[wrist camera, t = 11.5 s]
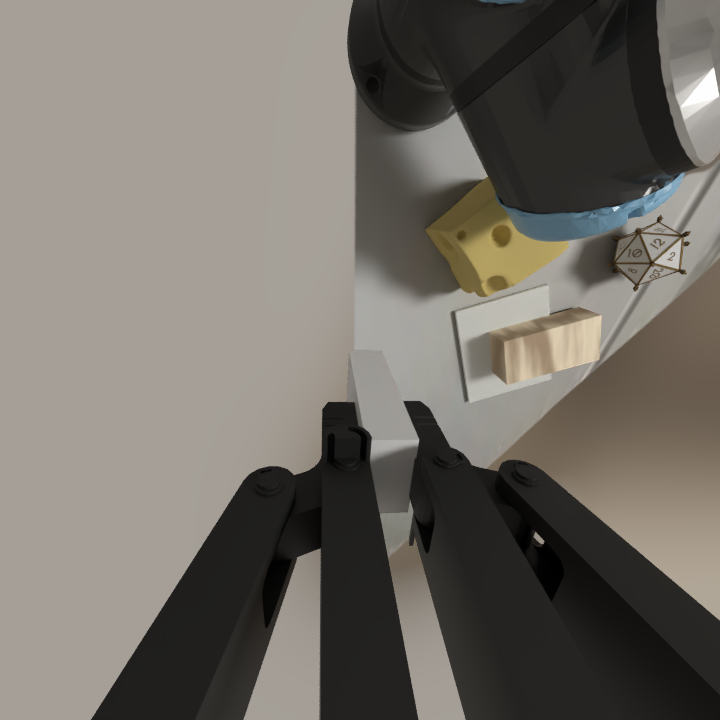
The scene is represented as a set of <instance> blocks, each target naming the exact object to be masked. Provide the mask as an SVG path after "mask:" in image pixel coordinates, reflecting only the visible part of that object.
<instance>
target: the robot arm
mask: <svg viewBox="0 0 720 720" xmlns="http://www.w3.org/2000/svg"><path fill="white" fill-rule="evenodd" d="M347 40H348V41H347V45H348V58H349V64H350V68H351V73H352V76H353V79H354V82H355V85H356V87H357V89H358V91H359V93H360V95H361V97H362V99H363V100H364V102H365V103H366V104H367V106H368V107H369V108H370V109H371V111H372V112H373V113H374V114H375V115H377V116H378V117H379V118H380V119H382V120H383V121H384V122H386V123H388V124H390V125H392V126H394V127H397V128H400V129H404V130H424V129H428V128H431V127H434V126H436V125H439V124H440V123H442V122H444V121H445V120H447V119H448V118H449V117H451V116H452V115H453V114H455V113H456V112H458V113H457V114H458V116H459V118H460V120H461V123H462V125H463V127H464V129H465V131H466V133H467V135H468V137H469V139H470V141H471V143H472V145H473V147H474V149H475V151H476V153H477V155H478V157H479V159H480V161H481V163H482V165H483V167H484V169H485V171H486V173H487V175H488V177H489V179H490V181H491V183H492V185H493V187H494V190H495V192H496V193H495V197H496V199H497V202H498V203H499V205H500V206H501V207H502V208H503V209H504V210H505V211H506V213H507V214H508V216H509V218H510V220H511V222H512V223H513V225H514V227H515V228H516V230H517V231H518V232H520V233H521V234H524V235H525V236H526V237H528V238H530V239H533V240H537V241H545V242H560V241H569V240H575V239H581V238H585V237H589V236H593V235H597V234H600V233H604V232H607V231H609V230H612V229H615V228H617V227H620V226H622V225H625V224H626V223H627V220H628V219H629V218H633V217H641V216H644V215H646V214H647V213H649V212H651V211H653V210H654V209H656V208H657V207H659V206H660V205H661V204H663V203H664V202H665V201H666V200H667V199H668V198H670V197H671V196H672V195H673V194H674V193H675V192H676V190H677V189H678V187H679V186H680V184H681V181H682V178H683V176H684V174H685V172H687V171H689V170H692V169H695V168H698V167H701V166H703V165H706V164H708V163H710V162H712V161H713V160H714V159H715V157H716V156H717V155H718V153H720V0H353V4H352V8H351V14H350V20H349V27H348V39H347ZM410 501H411V504H412V507H413V511H414V512H413V518H412V524H411V530H410V536H409V546H412V545H413V543H414V537H415V539H416V542H417V546H418V549H419V553H420V556H421V560H422V564H423V567H424V571H425V575H426V578H427V581H428V585H429V588H430V593H431V596H432V600H433V603H434V607H435V610H436V614H437V618H438V621H439V625H440V628H441V632H442V635H443V639H444V643H445V646H446V650H447V654H448V657H449V661H450V664H451V668H452V671H453V675H454V679H455V682H456V686H457V689H458V693H459V697H460V700H461V704H462V708H463V711H464V715H465V718H466V720H720V620H718V619H717V618H716V617H715V616H714V615H712V614H711V613H710V612H709V611H707V610H706V609H705V608H704V607H703V606H702V605H701V604H699V603H698V602H697V601H696V600H695V599H694V598H692V597H691V596H690V595H689V594H688V593H686V592H685V591H684V590H683V589H682V588H681V587H679V586H678V585H677V584H676V583H675V582H673V581H672V580H671V579H670V578H669V577H668V576H666V575H665V574H664V573H663V572H662V571H660V570H659V569H658V568H657V567H656V566H655V565H653V564H652V563H651V562H650V561H649V560H648V559H646V558H645V557H644V556H643V555H642V554H640V553H639V552H638V551H637V550H636V549H635V548H633V547H632V546H631V545H630V544H629V543H627V542H626V541H625V540H624V539H623V538H622V537H620V536H619V535H618V534H617V533H616V532H614V531H613V530H612V529H611V528H609V526H607V525H606V524H605V523H604V522H603V521H601V520H600V519H599V518H598V517H597V516H596V515H594V514H593V513H592V512H591V511H590V510H588V509H587V508H586V507H585V506H584V505H583V504H581V503H580V502H579V501H578V500H577V499H576V498H574V497H573V496H572V495H571V494H570V493H568V492H567V491H566V490H565V489H564V488H562V487H561V486H560V485H559V484H558V483H557V482H555V481H554V480H553V479H552V478H551V477H549V476H548V475H547V474H546V473H545V472H544V471H542V470H541V469H539V468H538V467H536V466H534V465H532V464H530V463H527V462H524V461H520V460H507V461H505V462H503V463H502V464H501V466H500V467H499V471H493V470H488V469H484V468H479V467H476V466H472V465H471V463H470V462H469V460H468V459H467V458H466V456H465V455H464V454H463V453H461V452H459V451H458V450H456V449H454V448H451V447H450V446H449V444H448V442H447V440H446V438H445V436H444V435H443V433H442V431H441V429H440V427H439V425H437V422H436V420H435V418H434V416H433V414H432V412H431V410H430V409H429V408H428V407H427V406H426V405H425V404H423V403H422V402H421V401H403V400H402V398H401V395H400V393H399V391H398V388H397V386H396V383H395V381H394V379H393V376H392V374H391V372H390V369H389V367H388V364H387V362H386V360H385V357H384V355H383V353H382V351H370V350H349V362H348V382H347V402H328V403H327V404H326V405H325V407H324V408H323V409H322V456H321V459H320V461H319V463H318V464H317V465H316V466H315V467H314V468H312V469H310V470H309V471H306V472H303V473H300V474H297V475H293V474H292V473H291V472H290V471H289V470H288V469H285V468H282V467H278V466H268V467H265V468H261V469H258V470H256V471H254V472H252V473H251V474H249V475H248V476H247V478H246V479H245V480H244V481H243V482H242V484H241V485H240V487H239V489H238V490H237V492H236V493H235V495H234V496H233V498H232V500H231V501H230V503H229V504H228V506H227V507H226V509H225V511H224V512H223V514H222V515H221V517H220V519H219V520H218V522H217V523H216V525H215V526H214V528H213V529H212V531H211V533H210V534H209V536H208V537H207V539H206V540H205V542H204V543H203V545H202V547H201V548H200V550H199V551H198V553H197V555H196V556H195V558H194V559H193V561H192V562H191V564H190V566H189V567H188V569H187V570H186V572H185V573H184V575H183V576H182V578H181V580H180V581H179V583H178V584H177V586H176V588H175V589H174V591H173V592H172V594H171V595H170V597H169V598H168V600H167V601H166V603H165V605H164V606H163V608H162V609H161V611H160V613H159V614H158V616H157V617H156V619H155V620H154V622H153V623H152V625H151V627H150V628H149V630H148V631H147V633H146V635H145V636H144V638H143V639H142V641H141V642H140V644H139V645H138V647H137V649H136V650H135V652H134V653H133V655H132V657H131V658H130V659H129V661H128V663H127V664H126V666H125V667H124V669H123V670H122V672H121V674H120V675H119V677H118V678H117V680H116V682H115V683H114V685H113V686H112V688H111V689H110V691H109V692H108V694H107V696H106V697H105V699H104V700H103V702H102V703H101V705H100V707H99V708H98V710H97V711H96V713H95V714H94V716H93V717H92V719H91V720H243V719H244V716H245V713H246V710H247V707H248V704H249V701H250V698H251V695H252V692H253V689H254V686H255V683H256V680H257V677H258V674H259V671H260V668H261V665H262V662H263V659H264V656H265V653H266V650H267V647H268V644H269V641H270V638H271V635H272V632H273V629H274V626H275V623H276V620H277V617H278V614H279V611H280V608H281V605H282V602H283V599H284V596H285V593H286V590H287V587H288V584H289V581H290V578H291V575H292V573H293V569H294V566H295V564H296V560H297V557H299V556H301V555H304V554H307V553H309V552H312V551H314V550H317V549H320V548H321V586H320V588H321V589H320V599H321V600H320V720H418V715H417V710H416V705H415V699H414V694H413V689H412V684H411V678H410V673H409V668H408V662H407V657H406V651H405V646H404V641H403V636H402V631H401V625H400V620H399V614H398V609H397V604H396V598H395V594H394V588H393V582H392V577H391V572H390V567H389V561H388V556H387V550H386V545H385V540H384V535H383V529H382V524H381V519H380V513H399V512H408V508H409V502H410ZM535 531H536V532H537V534H538V535H539V536H540V537H541V538H542V539H543V540H544V541H545V542H544V544H540V543H539V542H538V541H537V540H536V539H535V538H534V534H535Z"/></svg>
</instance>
